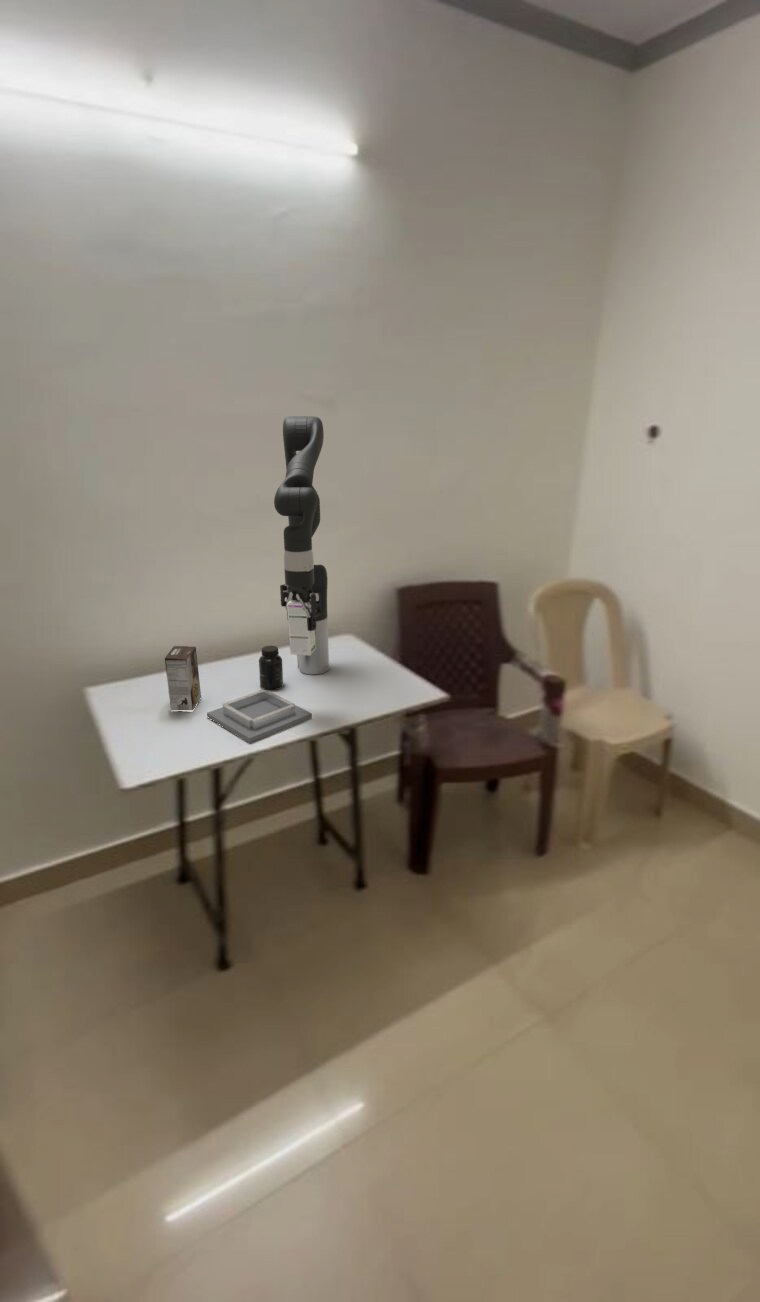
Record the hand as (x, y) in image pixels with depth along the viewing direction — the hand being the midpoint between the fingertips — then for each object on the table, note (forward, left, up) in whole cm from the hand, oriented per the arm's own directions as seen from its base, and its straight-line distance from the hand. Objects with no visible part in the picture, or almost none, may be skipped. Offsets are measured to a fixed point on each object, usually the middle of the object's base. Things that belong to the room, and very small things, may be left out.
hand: (301, 626), depth 192 cm
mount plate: (-4, -12, -24) cm, 27 cm away
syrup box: (0, 0, -7) cm, 7 cm away
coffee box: (-25, -22, -24) cm, 42 cm away
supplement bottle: (-19, +3, -24) cm, 31 cm away
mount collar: (-4, -12, -23) cm, 26 cm away
